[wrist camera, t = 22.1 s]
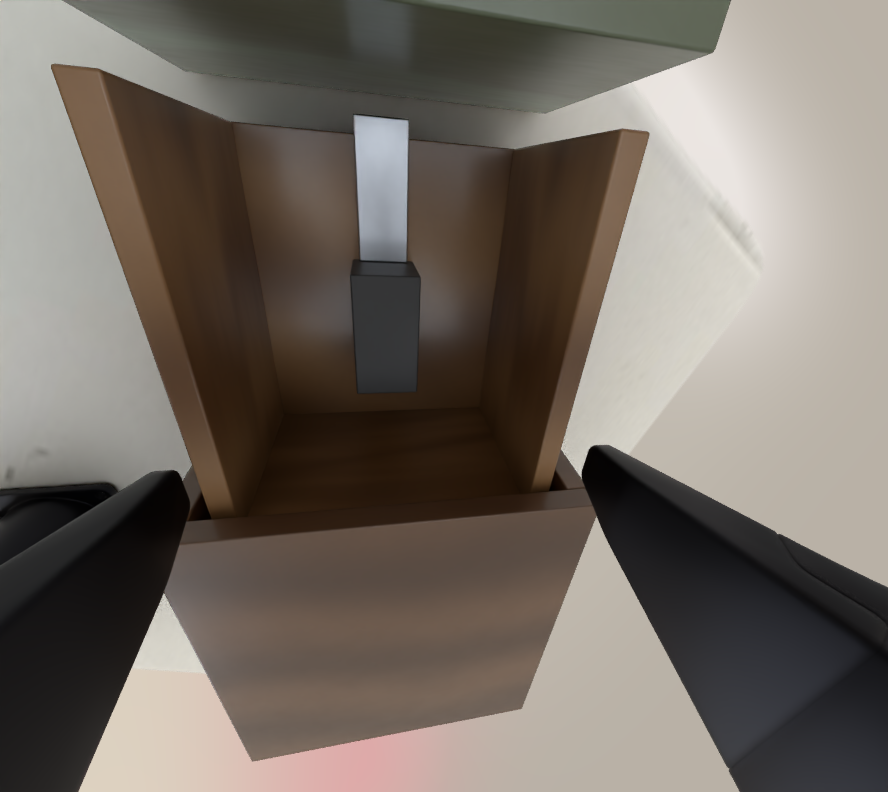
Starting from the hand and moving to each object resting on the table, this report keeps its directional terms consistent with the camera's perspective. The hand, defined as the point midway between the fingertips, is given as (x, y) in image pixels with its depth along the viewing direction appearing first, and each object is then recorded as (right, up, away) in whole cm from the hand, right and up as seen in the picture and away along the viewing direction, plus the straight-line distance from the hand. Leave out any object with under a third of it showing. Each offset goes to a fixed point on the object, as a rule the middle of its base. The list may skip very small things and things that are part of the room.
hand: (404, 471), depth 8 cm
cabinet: (-3, -4, +17) cm, 18 cm away
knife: (-2, +8, +8) cm, 11 cm away
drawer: (-2, +10, +8) cm, 13 cm away
